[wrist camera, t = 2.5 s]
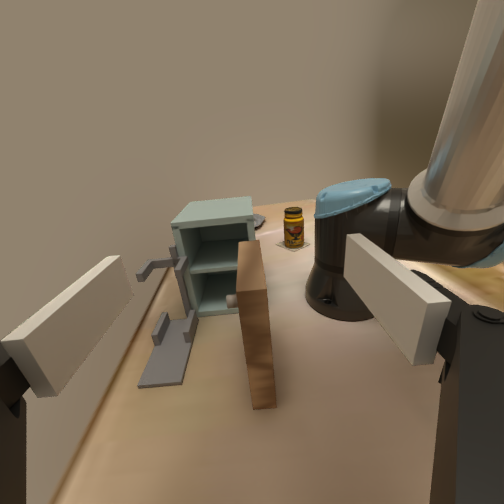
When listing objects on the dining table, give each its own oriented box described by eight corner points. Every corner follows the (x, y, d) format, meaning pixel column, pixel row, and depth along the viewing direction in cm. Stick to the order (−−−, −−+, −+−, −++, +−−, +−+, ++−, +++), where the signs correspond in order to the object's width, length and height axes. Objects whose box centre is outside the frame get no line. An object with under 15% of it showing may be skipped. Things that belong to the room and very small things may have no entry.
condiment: (294, 251, 72) (293, 213, 67) (275, 244, 79) (273, 209, 74) (310, 244, 76) (310, 207, 71) (291, 238, 82) (290, 203, 78)
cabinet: (258, 272, 63) (250, 195, 55) (269, 376, 35) (257, 251, 26) (184, 279, 63) (165, 204, 55) (135, 388, 35) (82, 268, 27)
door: (267, 334, 42) (259, 239, 35) (276, 407, 31) (266, 288, 23) (244, 336, 42) (230, 242, 35) (243, 410, 31) (223, 293, 23)
